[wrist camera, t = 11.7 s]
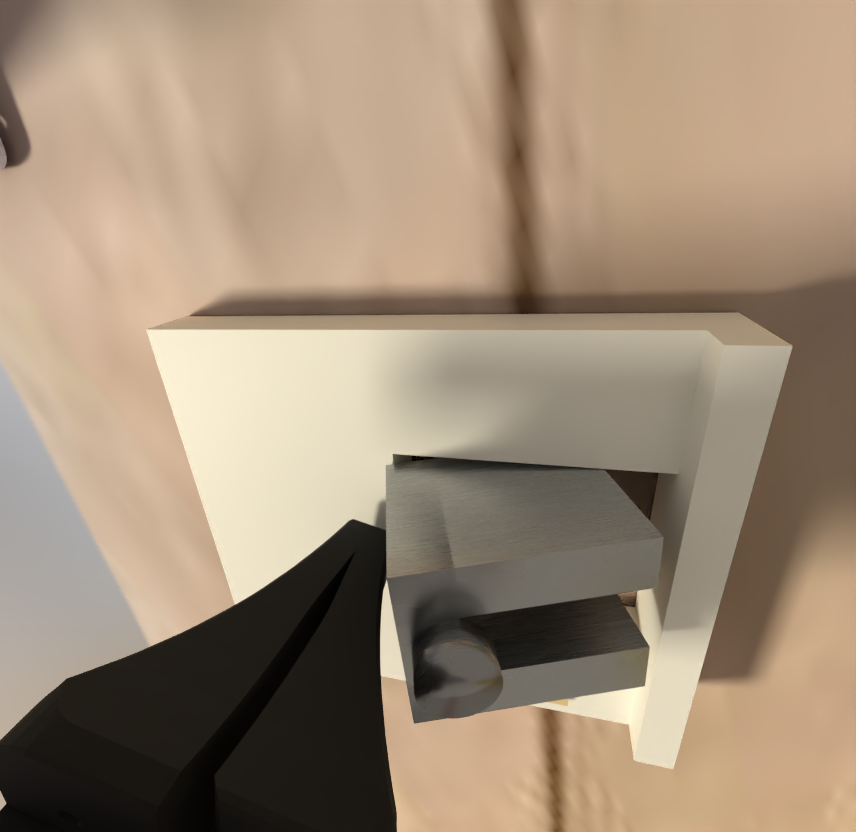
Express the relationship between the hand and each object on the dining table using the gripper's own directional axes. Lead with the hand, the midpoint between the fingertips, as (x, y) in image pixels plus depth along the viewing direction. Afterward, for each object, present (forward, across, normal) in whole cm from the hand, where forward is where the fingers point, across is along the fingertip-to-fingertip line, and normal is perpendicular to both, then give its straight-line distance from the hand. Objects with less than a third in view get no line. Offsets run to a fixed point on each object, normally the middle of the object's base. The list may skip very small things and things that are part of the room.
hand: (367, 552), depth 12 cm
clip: (+1, -3, -2) cm, 3 cm away
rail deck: (+2, -1, 0) cm, 3 cm away
